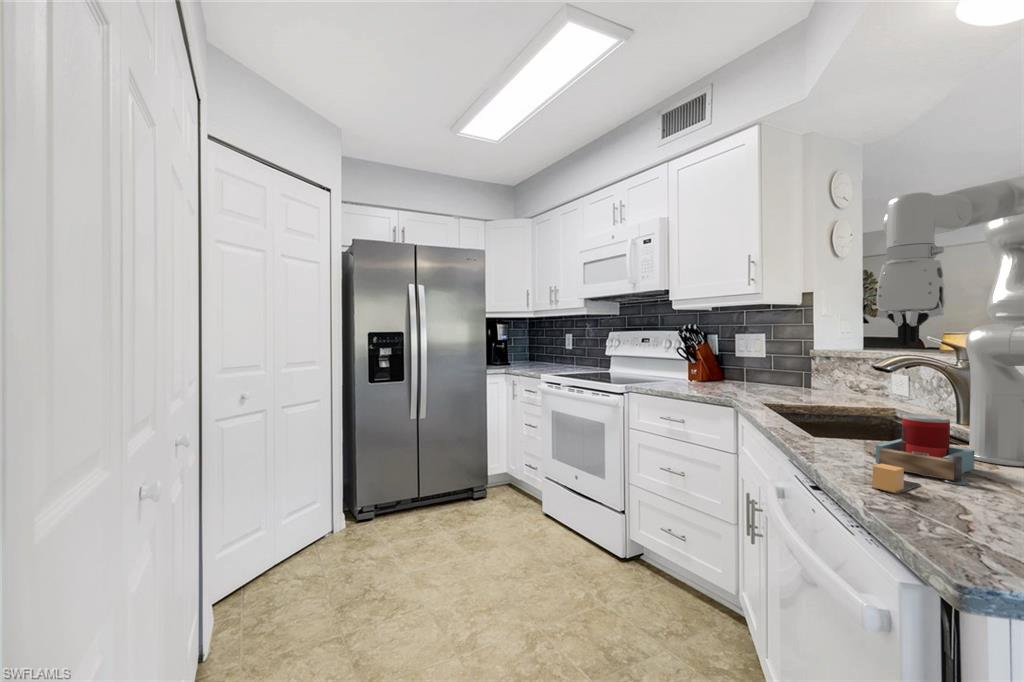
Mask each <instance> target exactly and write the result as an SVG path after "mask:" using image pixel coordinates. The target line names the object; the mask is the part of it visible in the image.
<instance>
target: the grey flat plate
mask: <svg viewBox="0 0 1024 682" xmlns="http://www.w3.org/2000/svg"><path fill="white" fill-rule="evenodd" d="M920 485H921V486H922V484H921V483H919V482H913V481H909V480H905V479H904V487H903V490H900V491H898V492H891V491H887V490H883V489H880V491H882V490H883V492H886V491H887V492H888V493H890V492H891V493H890V494H894V493H895V494H894V495H899V494H902V492H903V493H904V492H907V491H910V490H913V489H915V487H916V488H918V487H921V486H920ZM917 486H918V487H917ZM871 488H872V489H874V488H875V487H873V485H872V486H871ZM912 488H913V489H912ZM878 489H879V488H875V489H874V490H878ZM887 492H886V493H887Z"/></svg>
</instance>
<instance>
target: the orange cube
mask: <svg viewBox="0 0 1024 682" xmlns="http://www.w3.org/2000/svg"><path fill="white" fill-rule="evenodd" d="M904 472H905V471H904V468H901V467H896V466H891V465H886V464H879V463H877V464H876V465H873V466H872V486H873V487H875V488H879V489H883V490H887V491H891V492H898V491H900V490H903V487H904V480H905V479H904V477H905V474H904Z"/></svg>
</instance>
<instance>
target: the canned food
mask: <svg viewBox="0 0 1024 682" xmlns="http://www.w3.org/2000/svg"><path fill="white" fill-rule="evenodd" d="M901 417H902V418H901V419H902V420H901V439H902V451H903V452H909V453H915V454H921V455H927V456H933V457H939V458H943V457H945V456H948V455H949V448H950V447H951V446H950V445H951V438H950V437H951V434H950V433H951V420H950V418H949V417H946V416H942V415H934V414H925V413H924V414H923V413H903V414H902V416H901Z"/></svg>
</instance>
